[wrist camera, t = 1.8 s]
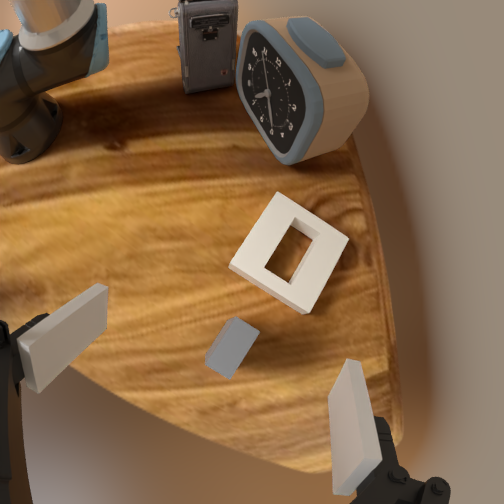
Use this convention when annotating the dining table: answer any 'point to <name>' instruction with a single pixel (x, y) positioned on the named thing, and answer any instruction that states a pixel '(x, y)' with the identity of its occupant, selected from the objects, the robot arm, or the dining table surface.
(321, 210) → the dining table surface
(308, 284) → the white flat frame block
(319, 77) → the alarm clock
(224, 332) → the grey rectangular peg
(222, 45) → the camera
